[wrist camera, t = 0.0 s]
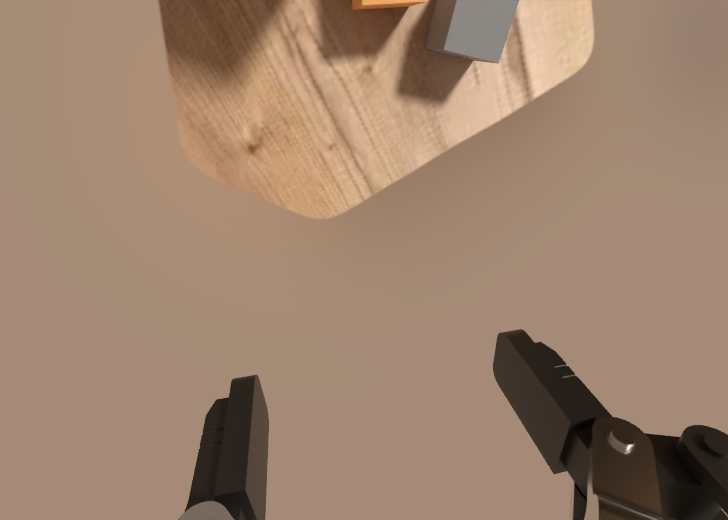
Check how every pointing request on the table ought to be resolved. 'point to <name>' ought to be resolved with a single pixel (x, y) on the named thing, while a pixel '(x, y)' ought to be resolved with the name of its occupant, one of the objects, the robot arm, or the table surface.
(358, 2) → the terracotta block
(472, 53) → the gray cube
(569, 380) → the robot arm
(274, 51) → the table surface
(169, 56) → the table surface
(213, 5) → the table surface
